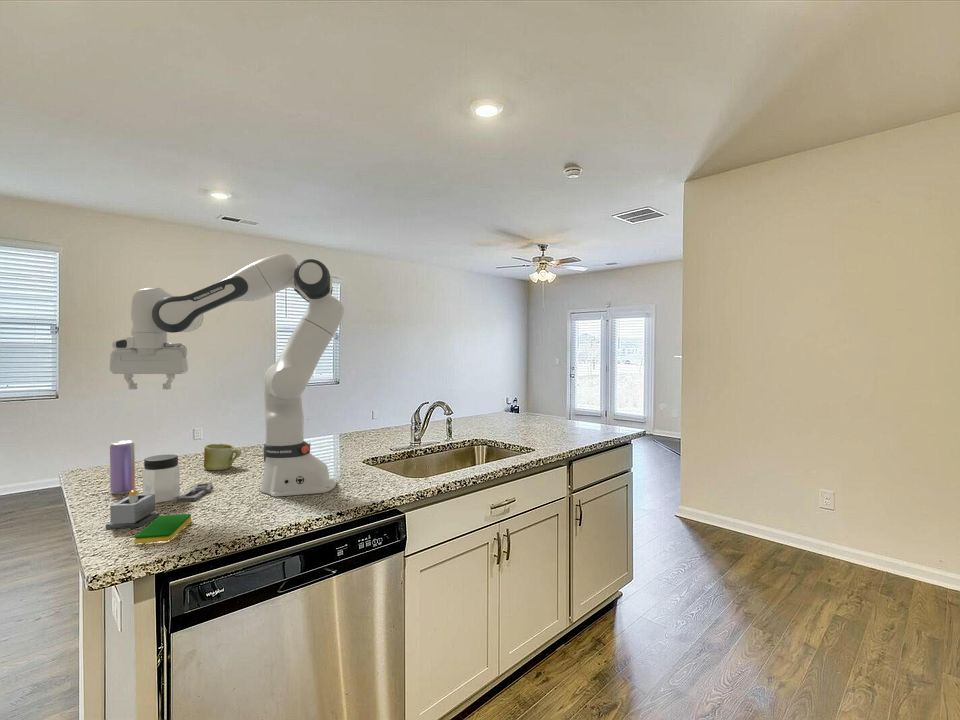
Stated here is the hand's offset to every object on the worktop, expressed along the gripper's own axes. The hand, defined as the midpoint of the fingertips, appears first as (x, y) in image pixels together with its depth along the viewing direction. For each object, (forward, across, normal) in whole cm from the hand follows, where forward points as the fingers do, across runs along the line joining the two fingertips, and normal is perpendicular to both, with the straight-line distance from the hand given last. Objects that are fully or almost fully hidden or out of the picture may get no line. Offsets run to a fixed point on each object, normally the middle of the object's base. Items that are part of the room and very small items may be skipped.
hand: (149, 389), depth 144 cm
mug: (+31, -9, -29) cm, 44 cm away
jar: (+31, -6, +6) cm, 32 cm away
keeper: (+31, -9, +25) cm, 41 cm away
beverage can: (+31, +9, -2) cm, 33 cm away
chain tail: (+31, -14, +1) cm, 34 cm away
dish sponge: (+32, -20, +32) cm, 50 cm away
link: (+30, -9, +25) cm, 40 cm away
